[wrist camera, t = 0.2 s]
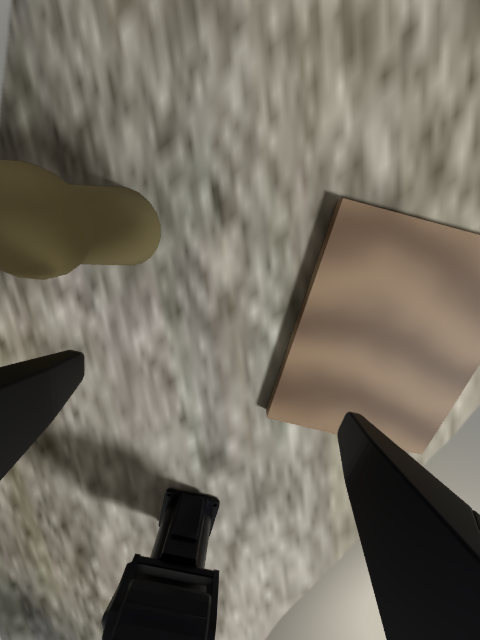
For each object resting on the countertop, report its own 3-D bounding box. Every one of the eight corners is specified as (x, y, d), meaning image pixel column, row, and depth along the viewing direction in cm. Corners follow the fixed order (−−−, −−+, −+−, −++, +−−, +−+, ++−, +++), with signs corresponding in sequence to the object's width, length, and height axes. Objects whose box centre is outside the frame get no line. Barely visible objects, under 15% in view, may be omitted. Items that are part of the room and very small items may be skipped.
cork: (112, 276, 22) (-12, 313, 12) (73, 206, 20) (-113, 178, 10) (173, 248, 21) (96, 264, 11) (137, 173, 19) (4, 103, 9)
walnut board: (414, 445, 26) (422, 454, 25) (266, 409, 26) (266, 417, 25) (533, 252, 20) (550, 253, 19) (337, 200, 19) (343, 198, 18)
